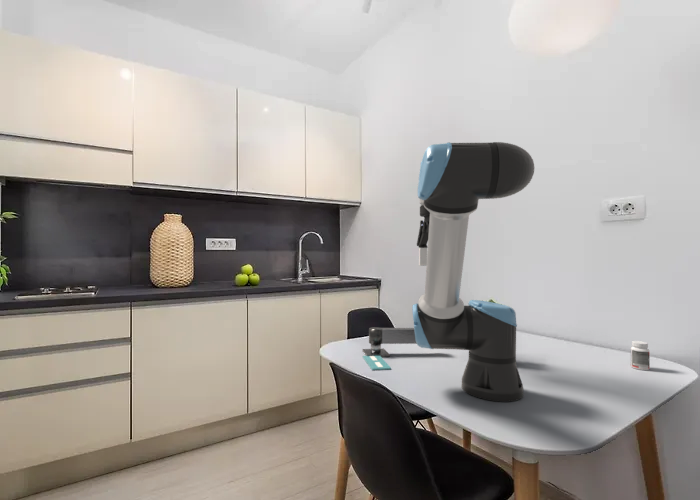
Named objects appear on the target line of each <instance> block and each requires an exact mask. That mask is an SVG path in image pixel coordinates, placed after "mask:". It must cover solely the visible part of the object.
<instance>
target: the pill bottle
mask: <svg viewBox="0 0 700 500" xmlns="http://www.w3.org/2000/svg"><path fill="white" fill-rule="evenodd" d="M648 348H649V343H648V342H646V341H641V340H632V341H631V347H630V367H631V368H633V369H635V370H639V371H649V370H650V364H651V363H650V360H651V359H650V350H649V349H648Z"/></svg>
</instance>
